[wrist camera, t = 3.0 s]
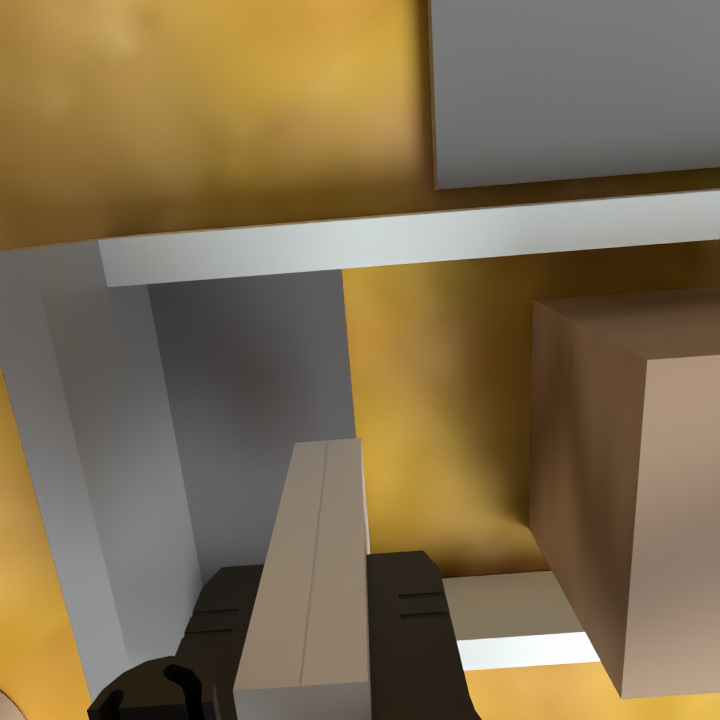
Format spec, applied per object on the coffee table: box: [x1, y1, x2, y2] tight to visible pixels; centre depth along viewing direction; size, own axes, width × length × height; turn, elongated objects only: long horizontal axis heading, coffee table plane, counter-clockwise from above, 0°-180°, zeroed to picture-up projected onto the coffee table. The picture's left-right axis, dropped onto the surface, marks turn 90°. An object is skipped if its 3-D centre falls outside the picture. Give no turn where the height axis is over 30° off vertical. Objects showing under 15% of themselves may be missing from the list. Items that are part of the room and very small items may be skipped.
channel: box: [0, 188, 720, 703], centre depth 13 cm, size 12×19×5 cm, turn 94°
